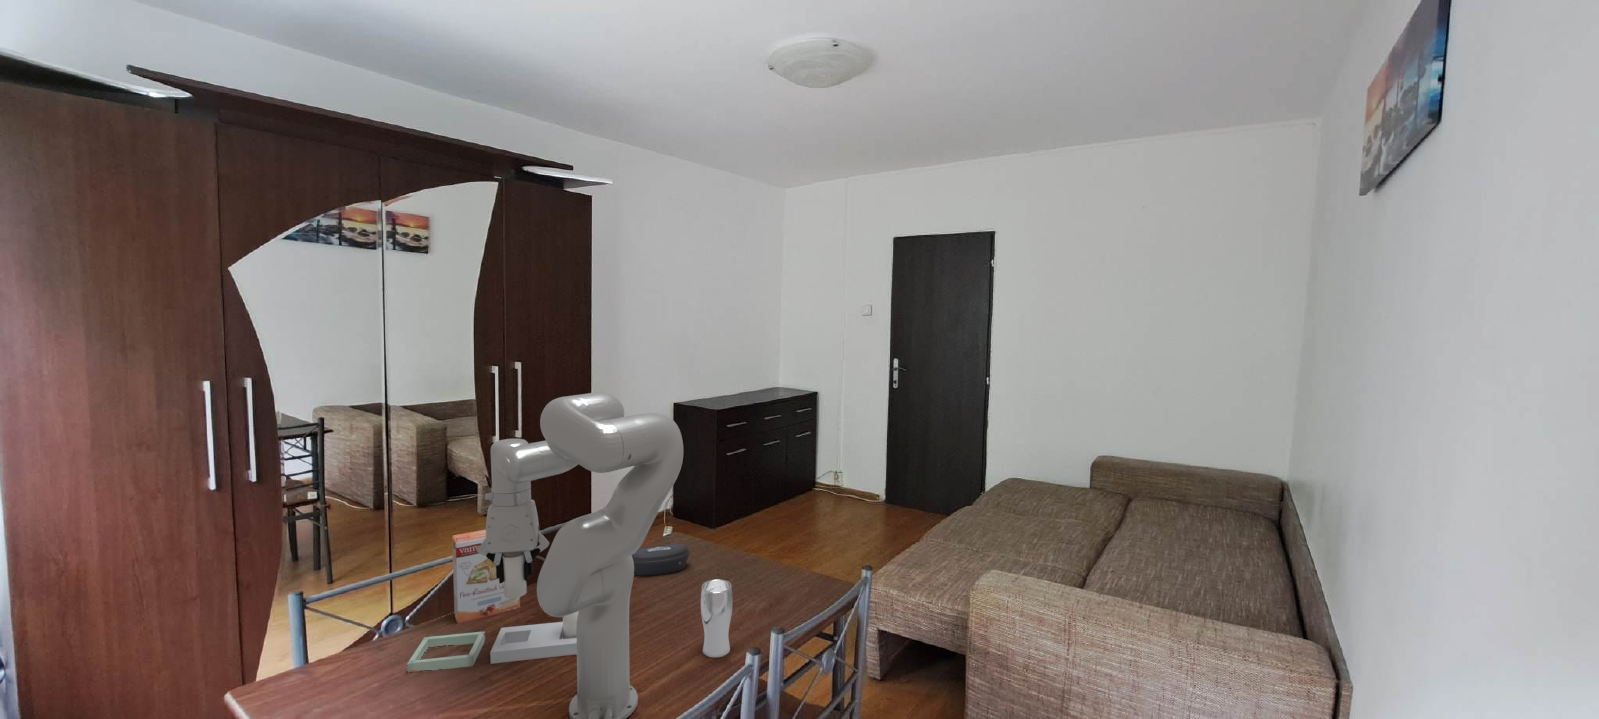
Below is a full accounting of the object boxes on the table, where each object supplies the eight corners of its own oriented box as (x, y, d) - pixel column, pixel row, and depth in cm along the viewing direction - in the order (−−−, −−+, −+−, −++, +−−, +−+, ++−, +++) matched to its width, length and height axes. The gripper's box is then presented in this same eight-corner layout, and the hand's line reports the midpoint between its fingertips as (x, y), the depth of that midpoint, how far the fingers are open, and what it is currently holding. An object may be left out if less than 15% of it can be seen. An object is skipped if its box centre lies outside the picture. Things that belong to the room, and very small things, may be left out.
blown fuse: (524, 597, 134) (523, 547, 133) (501, 599, 133) (499, 549, 132) (528, 587, 138) (527, 539, 137) (506, 589, 137) (504, 541, 136)
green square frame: (473, 670, 130) (472, 656, 130) (407, 677, 127) (407, 663, 127) (485, 643, 140) (485, 631, 140) (425, 650, 137) (424, 637, 137)
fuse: (583, 646, 138) (582, 598, 137) (561, 648, 137) (560, 600, 136) (585, 635, 142) (584, 589, 141) (564, 637, 141) (563, 591, 140)
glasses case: (629, 580, 171) (627, 551, 173) (625, 578, 180) (624, 550, 182) (694, 570, 177) (691, 542, 179) (687, 569, 187) (685, 542, 189)
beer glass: (702, 661, 135) (702, 594, 134) (699, 643, 142) (699, 580, 140) (734, 656, 137) (734, 591, 135) (729, 639, 144) (729, 577, 142)
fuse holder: (590, 656, 136) (590, 641, 136) (490, 668, 131) (490, 652, 131) (594, 632, 146) (594, 618, 145) (501, 642, 141) (501, 627, 141)
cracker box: (457, 628, 146) (454, 542, 144) (454, 617, 151) (451, 534, 149) (521, 611, 155) (519, 530, 153) (516, 602, 160) (514, 522, 158)
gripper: (463, 505, 128) (467, 591, 130) (551, 499, 132) (553, 583, 133) (473, 494, 135) (477, 576, 137) (556, 489, 139) (558, 568, 141)
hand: (515, 578), depth 135 cm, fingers closed on blown fuse, 4 cm apart
